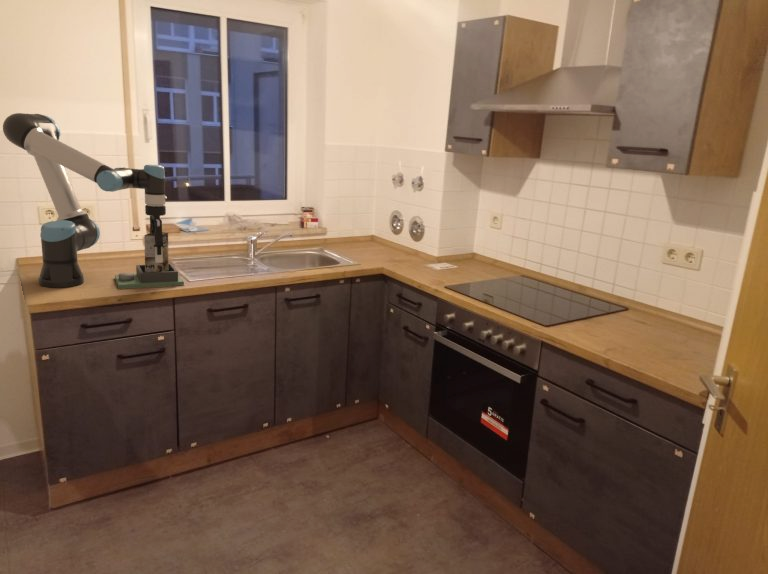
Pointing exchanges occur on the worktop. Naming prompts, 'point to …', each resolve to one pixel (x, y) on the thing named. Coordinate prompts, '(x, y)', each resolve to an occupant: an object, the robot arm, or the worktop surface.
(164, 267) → the coffee box
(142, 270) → the deck
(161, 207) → the robot arm
